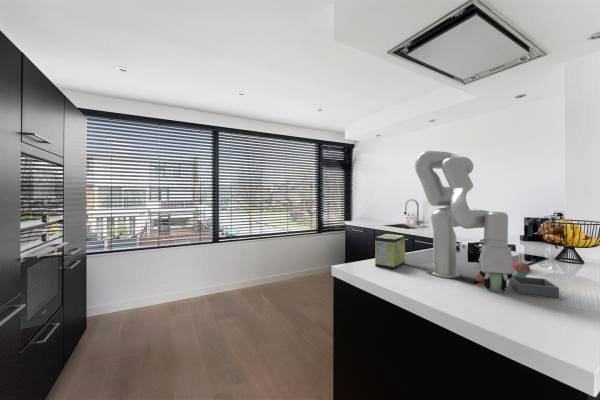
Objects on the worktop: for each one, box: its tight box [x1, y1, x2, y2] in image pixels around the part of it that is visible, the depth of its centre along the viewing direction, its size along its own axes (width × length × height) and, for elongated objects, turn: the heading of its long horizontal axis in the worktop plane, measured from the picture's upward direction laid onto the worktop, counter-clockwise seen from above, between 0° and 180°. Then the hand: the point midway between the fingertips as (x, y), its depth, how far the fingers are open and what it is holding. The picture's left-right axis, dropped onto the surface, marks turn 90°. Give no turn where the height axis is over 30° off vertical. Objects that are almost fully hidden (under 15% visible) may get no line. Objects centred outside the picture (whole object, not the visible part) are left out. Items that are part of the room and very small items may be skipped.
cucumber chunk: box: [487, 273, 503, 294], centre depth 105 cm, size 4×4×7 cm
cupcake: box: [513, 253, 531, 277], centre depth 120 cm, size 9×8×12 cm
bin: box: [508, 276, 560, 300], centre depth 104 cm, size 12×11×4 cm
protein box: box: [374, 233, 406, 270], centre depth 143 cm, size 10×16×16 cm
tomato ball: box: [475, 273, 484, 283], centre depth 114 cm, size 4×4×4 cm
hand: (495, 288), depth 105 cm, fingers closed on cucumber chunk, 4 cm apart
